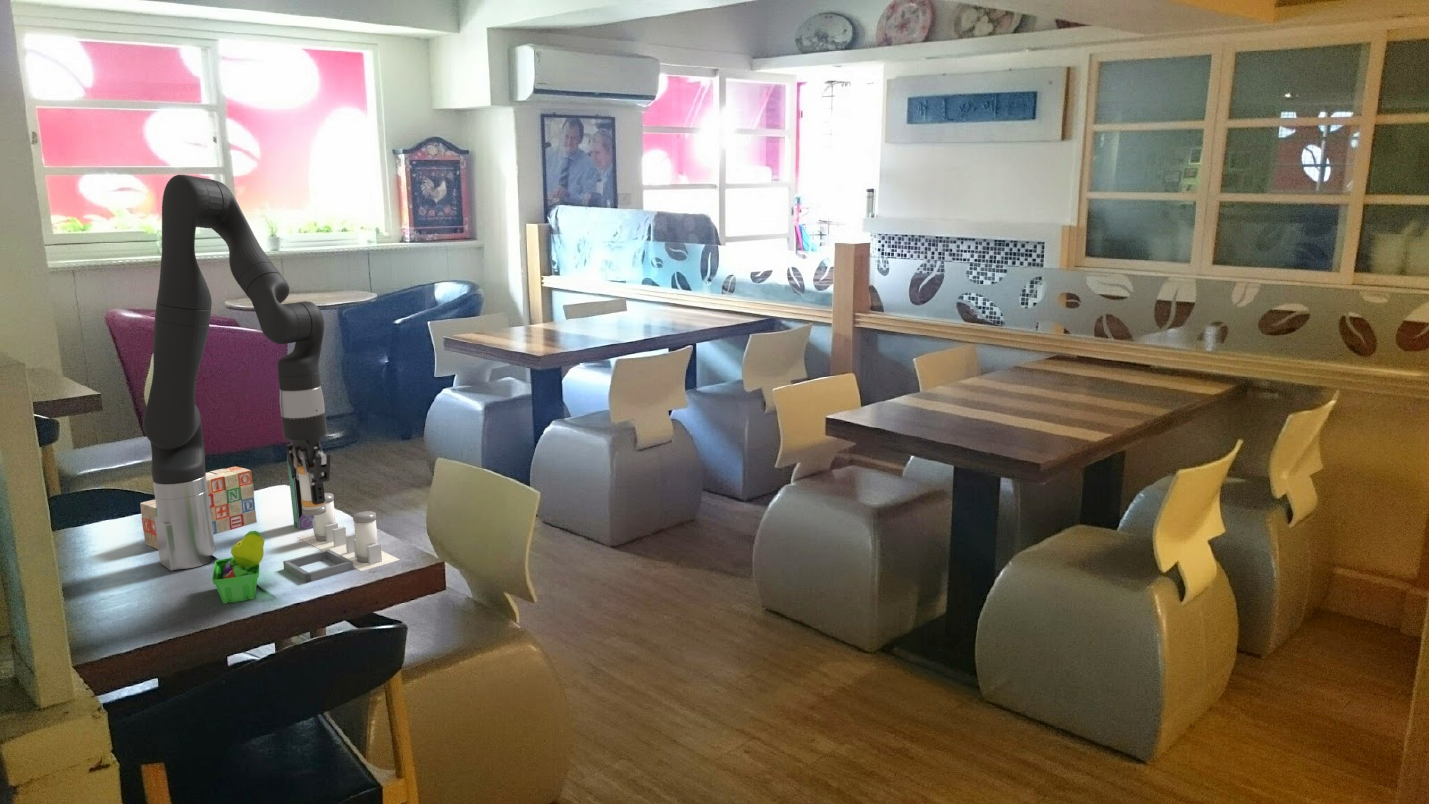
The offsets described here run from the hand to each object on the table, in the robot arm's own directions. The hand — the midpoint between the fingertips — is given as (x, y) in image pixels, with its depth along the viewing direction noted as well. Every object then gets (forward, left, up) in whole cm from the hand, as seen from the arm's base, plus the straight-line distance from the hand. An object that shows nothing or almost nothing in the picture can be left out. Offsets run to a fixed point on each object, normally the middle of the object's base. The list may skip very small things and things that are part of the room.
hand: (313, 500), depth 191 cm
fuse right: (+9, -2, -13) cm, 16 cm away
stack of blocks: (-6, +43, -15) cm, 46 cm away
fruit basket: (-13, +3, -15) cm, 20 cm away
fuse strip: (+9, +7, -15) cm, 19 cm away
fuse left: (+9, +16, -13) cm, 22 cm away
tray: (0, 0, -15) cm, 15 cm away
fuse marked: (0, 0, -2) cm, 2 cm away
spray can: (+10, +27, -15) cm, 32 cm away
